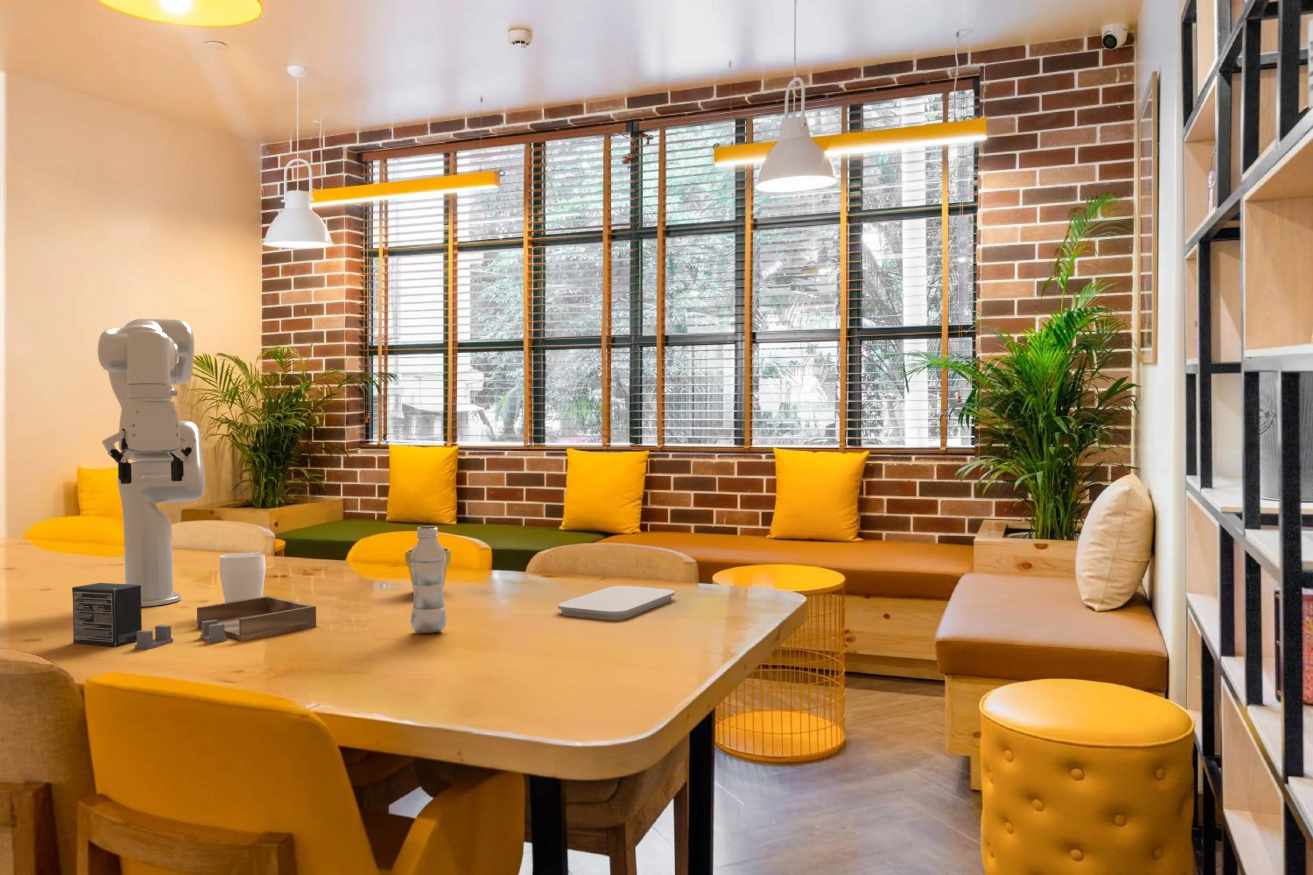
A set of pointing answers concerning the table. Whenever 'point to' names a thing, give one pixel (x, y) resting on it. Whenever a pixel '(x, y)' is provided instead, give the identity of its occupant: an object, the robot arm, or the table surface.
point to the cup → (242, 575)
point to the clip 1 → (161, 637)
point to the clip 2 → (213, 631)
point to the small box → (106, 614)
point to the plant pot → (408, 563)
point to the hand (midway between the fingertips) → (151, 482)
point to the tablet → (615, 602)
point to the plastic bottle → (428, 582)
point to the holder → (259, 617)
